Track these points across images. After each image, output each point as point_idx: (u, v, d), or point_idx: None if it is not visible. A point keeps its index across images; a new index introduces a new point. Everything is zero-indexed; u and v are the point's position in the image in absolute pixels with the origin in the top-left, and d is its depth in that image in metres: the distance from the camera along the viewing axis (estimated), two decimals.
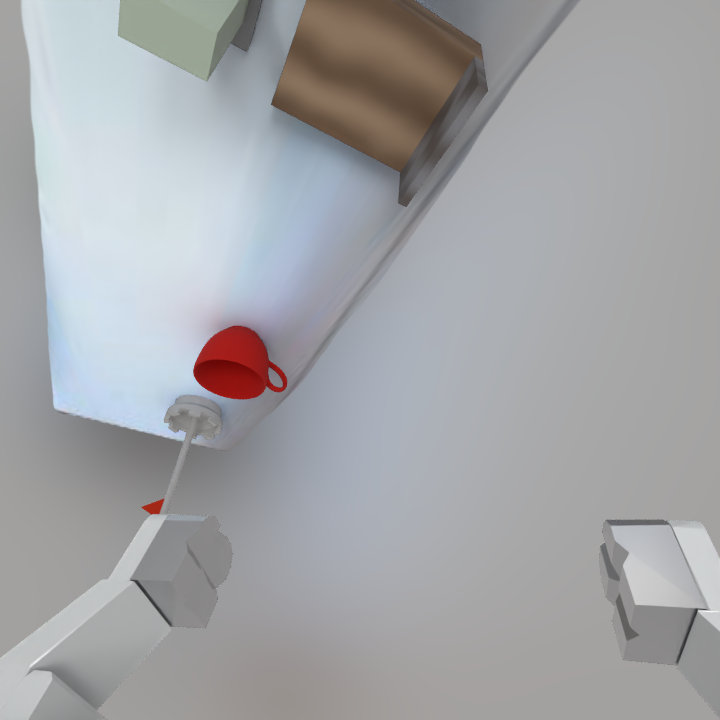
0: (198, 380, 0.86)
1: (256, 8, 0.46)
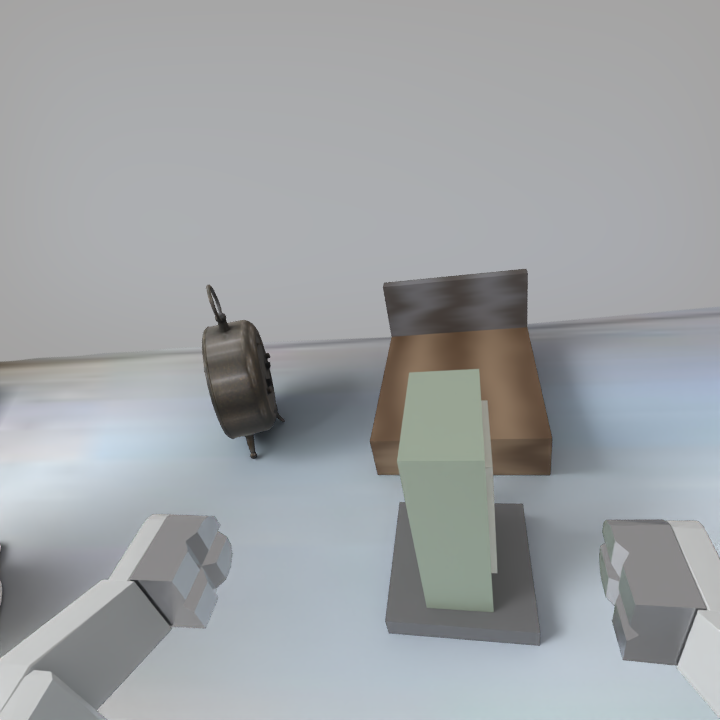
0: None
1: None
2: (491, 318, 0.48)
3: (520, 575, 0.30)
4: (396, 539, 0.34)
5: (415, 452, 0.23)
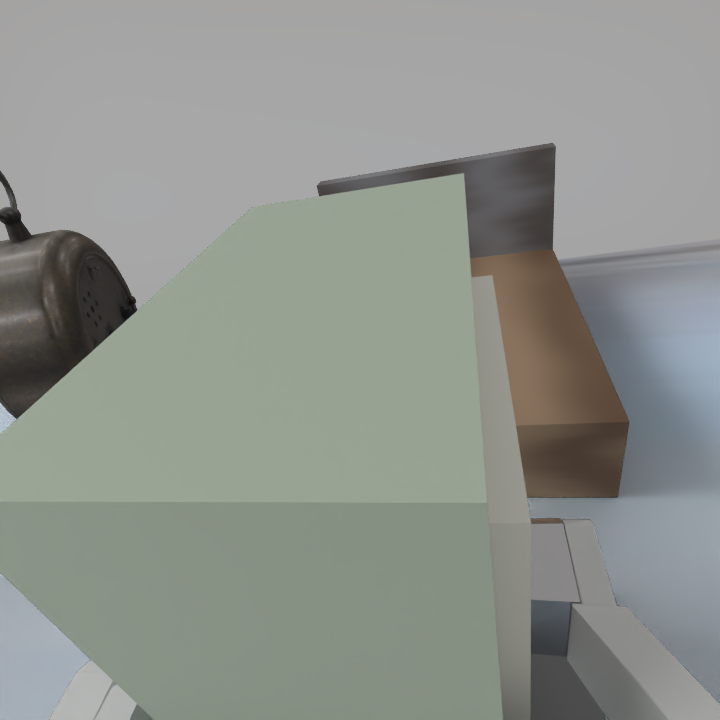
0: None
1: None
2: (494, 235, 0.30)
3: None
4: None
5: (69, 444, 0.04)
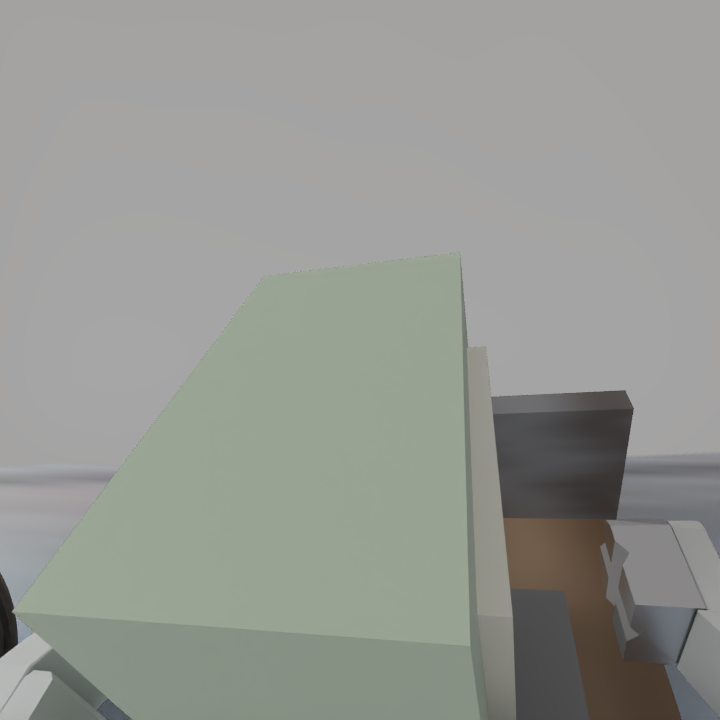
0: None
1: None
2: (527, 497, 0.20)
3: None
4: None
5: (126, 557, 0.04)
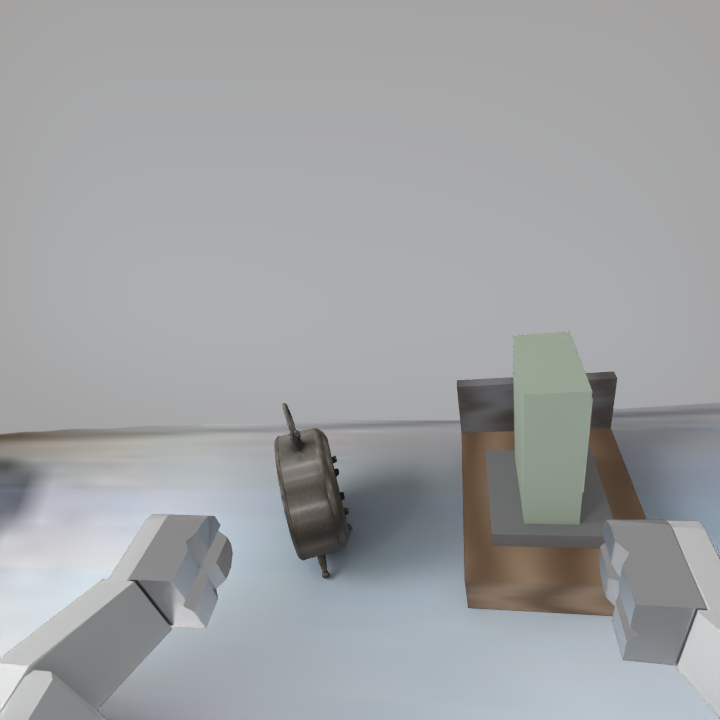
0: None
1: None
2: None
3: (596, 498, 0.38)
4: (488, 477, 0.42)
5: (536, 388, 0.30)
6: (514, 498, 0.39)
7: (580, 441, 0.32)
